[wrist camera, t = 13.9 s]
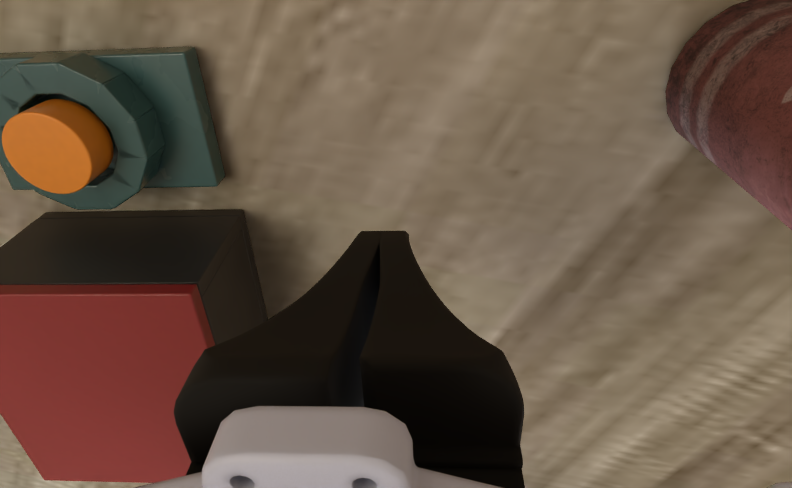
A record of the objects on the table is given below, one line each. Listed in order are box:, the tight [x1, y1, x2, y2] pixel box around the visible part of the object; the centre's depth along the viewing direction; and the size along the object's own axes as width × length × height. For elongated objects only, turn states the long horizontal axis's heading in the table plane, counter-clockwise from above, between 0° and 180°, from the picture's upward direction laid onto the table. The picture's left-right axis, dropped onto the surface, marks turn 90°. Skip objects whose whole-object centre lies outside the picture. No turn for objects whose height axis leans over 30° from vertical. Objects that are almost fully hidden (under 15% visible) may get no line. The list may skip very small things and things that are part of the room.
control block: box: [0, 47, 225, 210], centre depth 23 cm, size 6×10×3 cm, turn 92°
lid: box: [0, 284, 215, 483], centre depth 24 cm, size 11×12×1 cm
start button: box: [2, 99, 113, 194], centre depth 21 cm, size 3×3×2 cm
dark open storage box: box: [0, 210, 268, 345], centre depth 27 cm, size 10×12×6 cm
